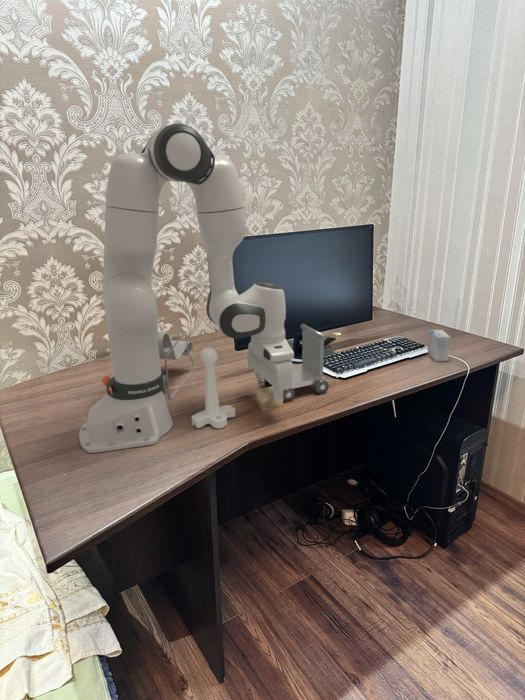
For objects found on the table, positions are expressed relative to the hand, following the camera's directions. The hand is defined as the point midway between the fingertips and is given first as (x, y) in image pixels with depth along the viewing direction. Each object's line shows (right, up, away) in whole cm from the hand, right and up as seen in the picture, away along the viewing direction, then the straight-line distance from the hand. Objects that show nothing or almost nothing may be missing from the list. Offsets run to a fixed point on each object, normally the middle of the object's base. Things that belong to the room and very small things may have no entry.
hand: (267, 392), depth 126 cm
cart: (+8, 0, +11) cm, 14 cm away
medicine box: (+58, +9, +33) cm, 67 cm away
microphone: (+20, +12, +44) cm, 50 cm away
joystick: (-13, -7, -7) cm, 17 cm away
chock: (+1, -4, +2) cm, 4 cm away
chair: (-32, +1, +17) cm, 36 cm away
